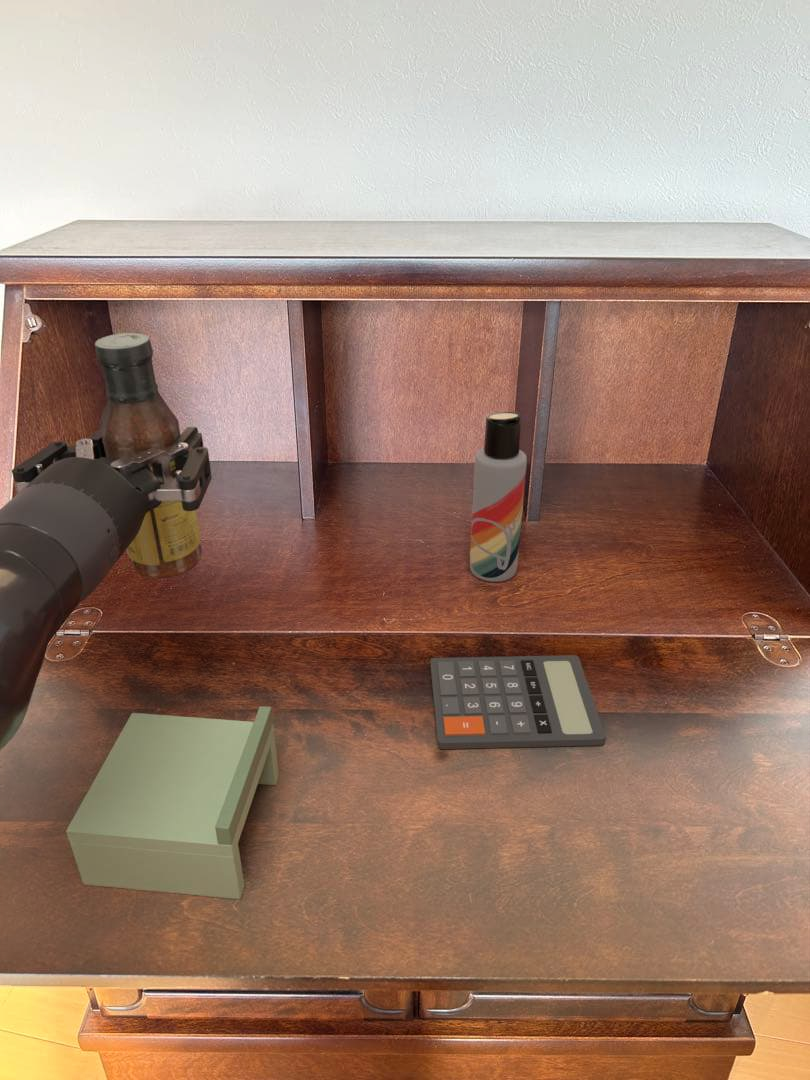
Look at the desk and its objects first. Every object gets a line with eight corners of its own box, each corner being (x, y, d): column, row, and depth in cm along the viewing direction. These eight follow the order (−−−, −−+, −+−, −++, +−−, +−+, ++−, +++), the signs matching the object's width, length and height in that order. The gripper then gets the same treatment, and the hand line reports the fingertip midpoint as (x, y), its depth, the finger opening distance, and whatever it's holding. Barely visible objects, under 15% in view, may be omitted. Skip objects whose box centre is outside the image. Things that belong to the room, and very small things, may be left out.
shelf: (83, 885, 60) (59, 813, 56) (143, 763, 70) (128, 696, 66) (240, 900, 59) (228, 828, 55) (279, 774, 69) (271, 706, 65)
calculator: (430, 656, 81) (578, 653, 81) (429, 663, 81) (577, 660, 82) (438, 741, 71) (606, 737, 71) (437, 749, 71) (605, 745, 72)
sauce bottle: (204, 542, 74) (176, 325, 64) (201, 579, 68) (170, 348, 58) (130, 548, 73) (90, 328, 63) (121, 585, 67) (76, 352, 57)
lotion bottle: (483, 587, 93) (494, 427, 83) (460, 563, 98) (468, 408, 87) (525, 576, 95) (541, 419, 85) (501, 553, 100) (513, 400, 89)
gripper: (159, 490, 50) (234, 395, 64) (-60, 479, 51) (62, 389, 66) (176, 590, 54) (244, 480, 68) (-28, 578, 55) (81, 472, 69)
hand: (154, 436), depth 67 cm, fingers closed on sauce bottle, 6 cm apart
